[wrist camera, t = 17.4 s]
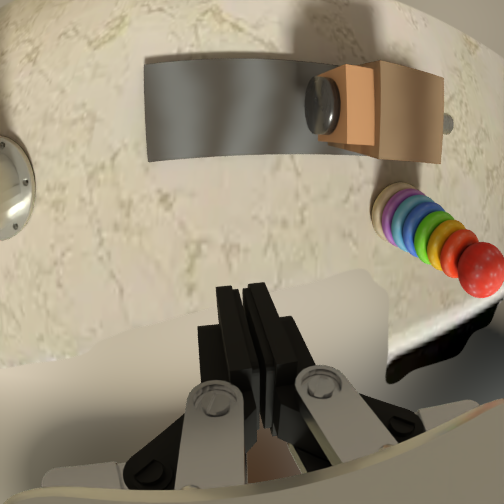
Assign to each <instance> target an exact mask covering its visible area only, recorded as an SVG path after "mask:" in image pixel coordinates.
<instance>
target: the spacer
mask: <svg viewBox="0 0 504 504" xmlns="http://www.w3.org/2000/svg"><path fill="white" fill-rule="evenodd" d="M318 76H320V77H329V78H332V79H333V80H334V81H335V82H336V84H337V86H338V89H339V93H340V100H341V110H340V117H339V121H338V125H337V127H336V129H335V130H334V132H333V133H332V134H330V135H318V141H323V142H334V143H344V144H358V145H372V146H374V144H375V101H374V73H373V69H371V68H366V67H360V66H354V65H348V64H344V65H342V66H339V67H337V68H334V69H332V70H330V71H327V72H325V73H322V74H320V75H318Z"/></svg>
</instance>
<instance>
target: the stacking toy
mask: <svg viewBox="0 0 504 504" xmlns="http://www.w3.org/2000/svg"><path fill="white" fill-rule="evenodd" d="M372 224H373V227H374V229H375V231H376V233H377V234H378V236H379V237H381V238H382V239H383V240H385V241H387V242H390V243H391V244H392V245H394V246H396V247H399V248H400V249H402V250H403V251H406V252H409V253H410V254H412V255H413V256H415V257H418V258H419V259H420V260H421V261H423V262H424V263H426V264H431V265H432V266H433V267H434V268H435V269H437V270H440V271H443V272H444V273H445V274H446V275H447V276H449V277H451V278H459V281H460V284H461V286H462V287H463V289H464V290H465V291H466V292H467V293H468V294H470V295H471V296H474V297H477V298H485V297H488V296H491V295H493V294H494V293H495V292H496V291H498V289H499V288H500V287H501V285H502V283H503V281H504V257H503V255H502V253H501V252H500V251H499V249H498V248H497V247H495V246H494V245H492V244H490V243H486V242H479V241H478V238H477V236H476V235H475V234H474V233H473V232H472V231H470V230H467V229H466V228H465V227H464V225H463V224H462V223H461V222H459V221H457V220H454V218H453V217H452V216H451V215H450V214H449V213H447V212H445V210H444V209H443V208H442V207H441V206H440V205H439V204H437V203H435V202H434V201H433V200H432V199H431V198H429V197H427V196H426V195H425V194H424V193H422V192H421V191H419V190H417V189H416V188H415V187H413V186H412V185H410V184H407V183H403V182H399V183H394V184H391V185H389V186H388V187H386V188H385V189H384V190H383V191H382V192H381V193H380V194H379V195H378V197H377V199H376V200H375V203H374V205H373V209H372Z"/></svg>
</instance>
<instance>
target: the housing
mask: <svg viewBox="0 0 504 504" xmlns="http://www.w3.org/2000/svg"><path fill="white" fill-rule="evenodd" d="M357 66H360V67H366V68H371V69H373V73H374V101H375V144H374V146H372V145H358V144H344V143H334V142H323V141H318V134H312V133H311V132H310V130H309V128H308V126H307V123H306V118H305V107H304V104H305V93H306V89H307V86H308V83H309V81H310V79H311V78H312V77H314V76H318V75H320V74H322V73H325V72H327V71H330V70H332V69H334V68H337V67H339V66H338V65H330V64H322V63H313V62H303V61H291V60H275V59H201V60H185V61H173V62H163V63H154V64H146V65H144V98H145V123H146V140H147V155H148V162H155V161H165V160H175V159H187V158H200V157H215V156H234V155H262V154H332V155H359V156H370V157H374V158H377V159H386V160H401V161H413V162H424V163H434V164H441V153H442V139H443V119H444V78H442V77H439V76H436V75H433V74H430V73H427V72H424V71H420V70H417V69H413V68H410V67H406V66H402V65H398V64H394V63H390V62H386V61H382V60H379V61H374V62H370V63H365V64H361V65H357Z"/></svg>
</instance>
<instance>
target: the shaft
mask: <svg viewBox="0 0 504 504" xmlns="http://www.w3.org/2000/svg"><path fill="white" fill-rule="evenodd" d="M304 107H305V118H306V123H307V126H308V128H309V130H310V132H311V133H312V134H318V135H330V134H332V133H333V132H334V130H335V129H336V127H337V125H338V121H339V117H340V110H341V100H340V93H339V89H338V86H337V84H336V82H335V81H334V80H333V79H332V78H329V77H320V76H314V77H312V78H311V79H310V81H309V83H308V86H307V89H306V93H305V104H304ZM452 129H453V119H452V117H451V116H450V115H449V114H447V113H444V119H443V134H446V135H447V134H450V133H451V131H452Z"/></svg>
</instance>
